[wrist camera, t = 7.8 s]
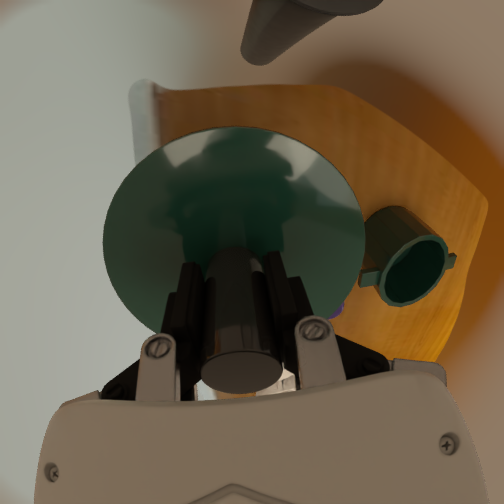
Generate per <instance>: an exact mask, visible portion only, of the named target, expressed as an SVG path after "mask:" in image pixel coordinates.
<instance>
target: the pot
mask: <svg viewBox="0 0 504 504" xmlns="http://www.w3.org/2000/svg"><path fill="white" fill-rule="evenodd" d="M364 228H365V252H364V257H363V262H362V266H361V267H362V269H361V270H360V272H359V278H358V285H359V287H360V288H361V287H367V286H372V285H373V286H374V288H375V289H376V291H377V292H378V294H379V296H380V297H381V299H382V300H383V301H384V302H386V303H387V304H388V305H389V306H396V307H403V306H407V305H411V304H413V303H415V302H417V301H419V300H420V299H422V298H424V297H425V296H426V295H427V294H428V293H429V292H430V291H432V290H433V289H434V288H435V287H436V285H437V284H438V282H439V281H440V279H441V278H442V276H443V275H444V272H445V270H447V269H451V268H453V267H454V264H455V260H456V257H457V255H456V254H455V253H449V254H448V247H447V245H446V243H445V242H444V240H443V238H441V237H440V236H439V235H438V234H437V233H436V232H435V231H434V230H432V229H431V228H430V227H429V226H428V225H427V224H426V223H424V222H423V221H422V220H421V219H420V218H419V217H417V216H416V215H415V214H414V213H413V212H411V211H409V210H408V209H406V208H403V207H400V206H391V207H387V208H384V209H381V210H379V211H378V212H376V213H375V214H373V215H372V216H371V217H370V218H369V219H368V220H367V221H366V222H365V223H364Z"/></svg>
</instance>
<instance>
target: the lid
mask: <svg viewBox="0 0 504 504" xmlns="http://www.w3.org/2000/svg"><path fill="white" fill-rule="evenodd" d="M276 250H279V252H280V255H281V258H282V261H283V265H284V268H285V271H286V274H287V278H289V277H296V276H300V277H301V279H302V282H303V285H304V288H305V290H306V293H307V296H308V299H309V302H310V305H311V307H312V310H313V313H314V316H321V317H324V318H326V319H328V318H329V317H330V316H331V315H332V314H333V313H334V312H335V311H336V310H337V309H338V308H339V307H340V305H341V304H342V303H343V302H344V300H345V299H346V297H347V296H348V295H349V293H350V292H351V290H352V288H353V286H354V284H355V282H356V280H357V278H358V275H359V272H360V269H361V266H362V262H363V257H364V252H365V228H364V220H363V216H362V212H361V209H360V206H359V203H358V201H357V199H356V196H355V194H354V192H353V190H352V189H351V187H350V185H349V184H348V182H347V181H346V179H345V178H344V176H343V175H342V174H341V173H340V172H339V171H338V170H337V168H336V167H335V166H334V165H333V164H332V163H331V162H330V161H328V160H327V159H326V158H325V157H323V156H322V155H321V154H320V153H319V152H317V151H316V150H314V149H313V148H311V147H309V146H308V145H306V144H304V143H302V142H301V141H299V140H297V139H295V138H292V137H290V136H287V135H284V134H282V133H279V132H276V131H272V130H267V129H263V128H258V127H248V126H223V127H212V128H208V129H203V130H199V131H195V132H191V133H189V134H186V135H184V136H181V137H179V138H176V139H174V140H171V141H170V142H168V143H166V144H165V145H163V146H161V147H160V148H158V149H156V150H155V151H153V152H152V153H151V154H149V155H148V156H147V157H146V158H145V159H143V160H142V161H141V162H140V163H139V164H137V165H136V166H135V168H134V169H133V170H132V171H131V172H130V173H129V174H128V176H127V177H126V178H125V179H124V180H123V182H122V183H121V185H120V187H119V188H118V190H117V191H116V193H115V195H114V197H113V199H112V202H111V204H110V206H109V209H108V212H107V216H106V220H105V224H104V233H103V252H104V253H103V254H104V261H105V265H106V269H107V273H108V276H109V278H110V281H111V283H112V286H113V287H114V289H115V291H116V293H117V295H118V296H119V298H120V299H121V301H122V302H123V303H124V305H125V306H126V308H127V309H128V310H129V311H130V312H131V313H132V314H133V315H134V316H135V317H136V318H137V319H138V320H139V321H140V322H141V323H143V324H144V325H145V326H146V327H147V328H149V329H151V330H152V331H153V332H155V333H156V334H159V333H160V332H161V327H162V322H163V317H164V313H165V308H166V303H167V299H168V295H169V293H170V292H177V287H178V282H179V277H180V272H181V268H182V264H183V263H186V262H193V261H195V263H196V264H200V266H201V270H202V274H203V278H204V281H205V290H204V303H203V316H202V330H201V346H200V365H199V374H200V377H201V379H202V381H203V382H204V383H205V384H206V385H207V386H209V387H211V388H212V389H215V390H217V391H220V392H225V393H231V394H246V393H253V392H257V391H261V390H263V389H266V388H268V387H270V386H272V385H273V384H275V383H276V382H277V381H278V380H279V379H280V377H281V376H282V373H283V363H282V358H281V353H280V348H279V343H278V340H277V336H276V331H275V326H274V321H273V315H272V310H271V305H270V300H269V295H268V290H267V284H266V279H265V274H264V264H263V255H267V252H269V251H276Z"/></svg>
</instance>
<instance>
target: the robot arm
mask: <svg viewBox="0 0 504 504" xmlns="http://www.w3.org/2000/svg"><path fill="white" fill-rule="evenodd" d="M263 264H264V274H265V279H266V284H267V290H268V295H269V300H270V305H271V310H272V315H273V321H274V326H275V331H276V336H277V340H278V343H279V348H280V353H281V358H282V363H283V366H284V369H286V370H287V371H289V372H291V373H293V374H294V381H295V390H296V391H290V392H284V393H277V394H270V395H262V396H254V397H244V398H234V399H221V400H205V401H198V394H197V384H196V383H197V382H199V381H200V380H201V377H200V374H199V365H200V346H201V330H202V316H203V303H204V290H205V281H204V278H203V274H202V270H201V266H200V264H196V263H195V261H193V262H186V263H183V264H182V268H181V272H180V277H179V282H178V287H177V292H170V293H169V295H168V299H167V303H166V308H165V313H164V317H163V322H162V327H161V332H160V333H159V334H155V335H152V336H151V337H149V338H148V339H147V340H145V342H144V343H143V345H142V348H141V355H140V359H139V360H138V361H136V362H135V363H133V364H132V365H131V366H129V367H128V368H127V369H125V370H124V371H123V372H121V373H120V374H119V375H117V376H116V377H115V378H113V379H112V380H111V381H109V382H108V383H107V384H106V385H105V386H104V388H103V389H102V391H101V392H99V391H98V390H97V391H94V392H91V393H89V394H86V395H83V396H81V397H78V398H75V399H73V400H70V401H67V402H65V403H63V404H62V405H61V406H60V407H59V409H58V410H57V411H56V412H55V414H54V415H53V416H52V418H51V420H50V422H49V425H48V428H47V430H46V433H45V437H44V440H43V444H42V448H41V453H40V457H39V463H38V469H37V476H36V484H35V494H34V504H489V498H488V493H487V489H486V484H485V480H484V476H483V472H482V468H481V465H480V461H479V458H478V455H477V452H476V449H475V446H474V444H473V441H472V438H471V435H470V433H469V430H468V428H467V425H466V423H465V420H464V418H463V416H462V414H461V412H460V410H459V408H458V406H457V404H456V402H455V401H454V399H453V397H452V395H451V393H450V392H449V390H448V389H447V385H446V384H447V382H446V372H445V370H444V368H443V367H442V366H441V365H439V364H438V363H434V362H425V361H415V360H405V359H397V358H394V359H393V361H392V360H387V359H386V358H385V356H383V355H382V354H380V353H378V352H376V351H373V350H371V349H369V348H366V347H364V346H362V345H359V344H357V343H355V342H352V341H350V340H348V339H345V338H343V337H341V336H338V335H336V334H335V333H334V329H333V326H332V324H331V322H329V321H328V320H327V319H326V318H324V317H321V316H314V313H313V310H312V307H311V305H310V302H309V299H308V296H307V293H306V290H305V288H304V285H303V282H302V279H301V277H300V276H296V277H289V278H287V274H286V271H285V268H284V265H283V261H282V258H281V255H280V252H279V250H276V251H269V252H267V255H263Z"/></svg>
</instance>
